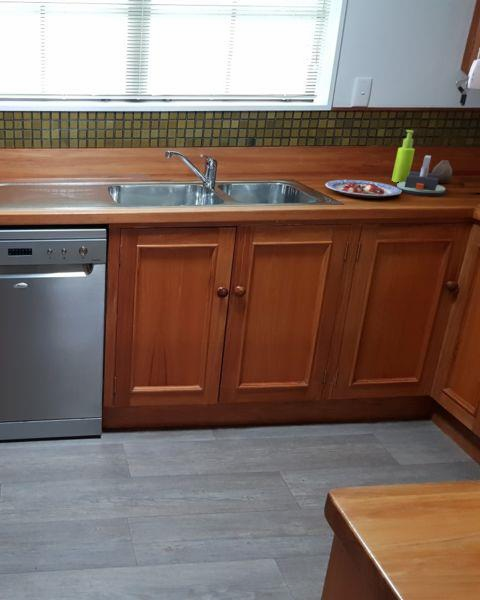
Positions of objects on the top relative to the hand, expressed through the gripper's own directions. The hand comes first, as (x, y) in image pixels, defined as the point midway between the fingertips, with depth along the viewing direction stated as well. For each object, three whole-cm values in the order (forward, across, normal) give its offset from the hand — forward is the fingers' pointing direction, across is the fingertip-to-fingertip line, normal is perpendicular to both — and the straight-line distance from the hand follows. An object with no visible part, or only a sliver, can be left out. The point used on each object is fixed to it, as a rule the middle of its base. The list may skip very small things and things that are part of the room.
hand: (477, 106), depth 224 cm
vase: (+30, +5, -7) cm, 32 cm away
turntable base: (+30, +15, +15) cm, 37 cm away
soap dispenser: (+30, +20, -3) cm, 37 cm away
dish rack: (+29, +15, +15) cm, 36 cm away
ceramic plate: (+30, +35, +27) cm, 54 cm away
